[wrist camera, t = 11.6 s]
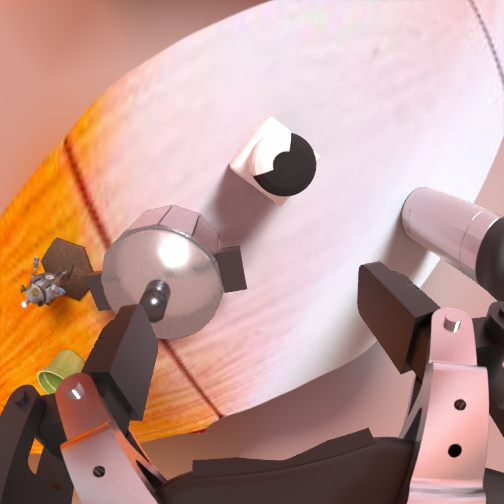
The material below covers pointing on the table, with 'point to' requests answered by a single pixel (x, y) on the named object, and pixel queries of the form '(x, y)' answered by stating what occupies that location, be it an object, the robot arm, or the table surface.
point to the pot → (191, 227)
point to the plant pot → (59, 370)
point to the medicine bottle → (275, 161)
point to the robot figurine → (59, 274)
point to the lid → (163, 281)
